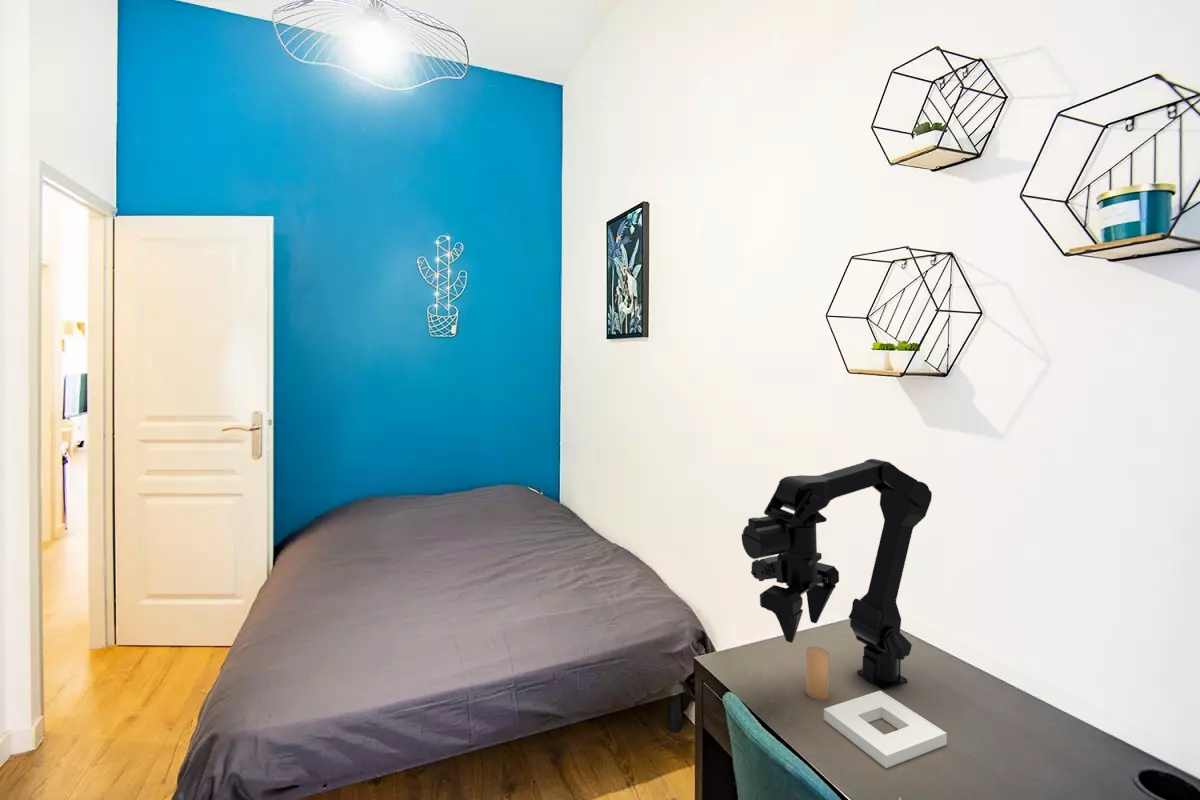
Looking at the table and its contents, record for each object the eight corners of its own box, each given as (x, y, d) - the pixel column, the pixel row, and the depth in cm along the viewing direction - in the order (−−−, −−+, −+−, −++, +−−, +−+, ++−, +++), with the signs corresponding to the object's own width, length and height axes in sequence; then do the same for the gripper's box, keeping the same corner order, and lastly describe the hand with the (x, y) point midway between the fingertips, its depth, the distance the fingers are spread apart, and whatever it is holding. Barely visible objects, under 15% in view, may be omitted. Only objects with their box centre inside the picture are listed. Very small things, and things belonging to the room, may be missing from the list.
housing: (880, 701, 106) (880, 690, 106) (946, 744, 94) (946, 732, 94) (823, 719, 101) (823, 708, 101) (886, 768, 89) (886, 755, 89)
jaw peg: (818, 685, 112) (818, 645, 111) (833, 696, 108) (834, 654, 107) (801, 690, 110) (801, 649, 109) (816, 702, 106) (816, 659, 106)
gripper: (784, 526, 117) (786, 601, 118) (731, 553, 104) (735, 637, 105) (839, 537, 109) (841, 618, 110) (790, 568, 96) (792, 658, 97)
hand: (802, 631), depth 106 cm, fingers open, 9 cm apart
